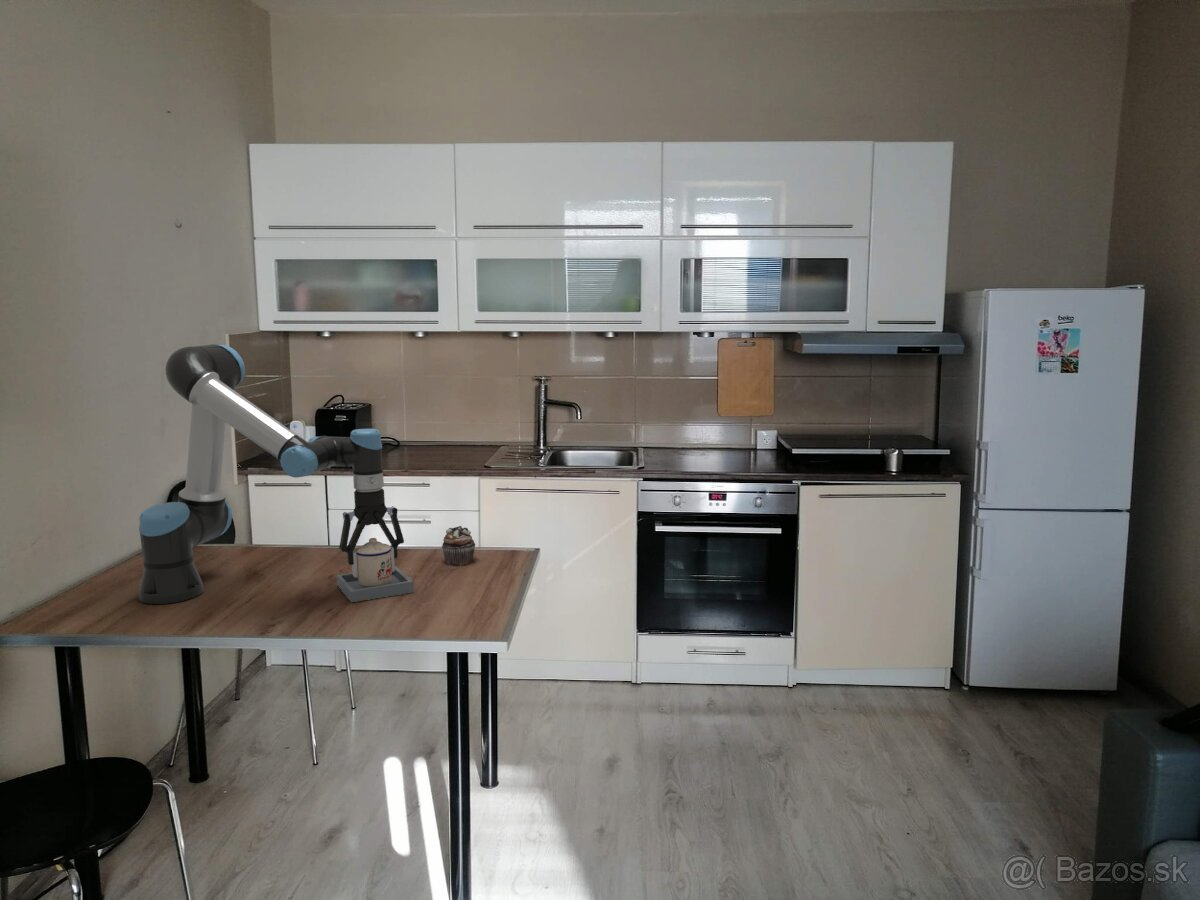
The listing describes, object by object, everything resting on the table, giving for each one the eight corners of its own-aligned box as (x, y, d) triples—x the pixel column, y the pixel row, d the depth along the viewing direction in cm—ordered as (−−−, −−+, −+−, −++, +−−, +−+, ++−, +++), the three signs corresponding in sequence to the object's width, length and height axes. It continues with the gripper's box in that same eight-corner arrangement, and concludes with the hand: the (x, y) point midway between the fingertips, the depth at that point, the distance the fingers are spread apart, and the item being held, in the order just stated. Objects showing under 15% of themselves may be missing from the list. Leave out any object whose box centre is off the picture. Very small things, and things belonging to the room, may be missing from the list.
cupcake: (435, 562, 260) (433, 528, 259) (461, 554, 268) (459, 522, 266) (456, 568, 254) (455, 533, 253) (482, 560, 261) (481, 527, 260)
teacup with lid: (383, 588, 230) (381, 544, 228) (351, 586, 232) (348, 542, 230) (403, 574, 241) (401, 532, 239) (372, 572, 243) (370, 530, 241)
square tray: (351, 603, 226) (350, 591, 225) (337, 586, 240) (336, 575, 239) (413, 592, 233) (413, 581, 233) (396, 576, 247) (395, 566, 247)
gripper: (329, 496, 224) (334, 583, 227) (414, 486, 234) (418, 570, 238) (322, 491, 230) (328, 575, 234) (405, 482, 240) (409, 563, 244)
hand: (373, 573), depth 236 cm, fingers closed on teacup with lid, 9 cm apart
